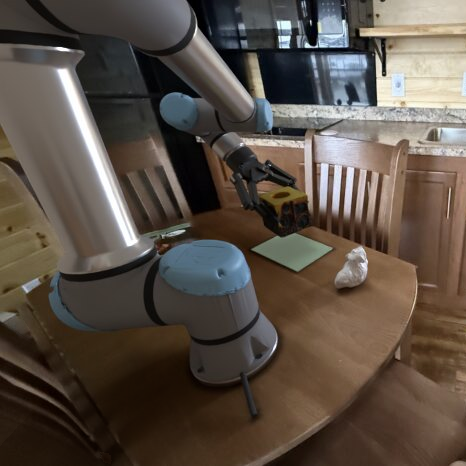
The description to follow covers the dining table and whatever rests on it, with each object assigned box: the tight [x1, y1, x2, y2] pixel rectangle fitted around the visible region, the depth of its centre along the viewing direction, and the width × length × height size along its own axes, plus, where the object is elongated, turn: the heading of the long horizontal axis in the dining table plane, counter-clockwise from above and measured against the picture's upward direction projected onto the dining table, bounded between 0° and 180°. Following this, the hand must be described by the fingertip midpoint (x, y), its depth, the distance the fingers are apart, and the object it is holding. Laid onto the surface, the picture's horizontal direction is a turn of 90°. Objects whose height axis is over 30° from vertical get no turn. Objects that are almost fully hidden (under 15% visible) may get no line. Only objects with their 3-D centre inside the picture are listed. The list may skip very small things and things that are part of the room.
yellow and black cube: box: [258, 186, 314, 238], centre depth 88 cm, size 10×10×10 cm
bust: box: [334, 245, 369, 290], centre depth 79 cm, size 12×8×11 cm
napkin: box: [250, 232, 334, 273], centre depth 94 cm, size 20×14×1 cm
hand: (292, 213), depth 88 cm, fingers closed on yellow and black cube, 12 cm apart
